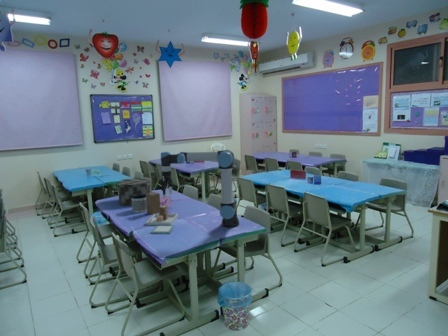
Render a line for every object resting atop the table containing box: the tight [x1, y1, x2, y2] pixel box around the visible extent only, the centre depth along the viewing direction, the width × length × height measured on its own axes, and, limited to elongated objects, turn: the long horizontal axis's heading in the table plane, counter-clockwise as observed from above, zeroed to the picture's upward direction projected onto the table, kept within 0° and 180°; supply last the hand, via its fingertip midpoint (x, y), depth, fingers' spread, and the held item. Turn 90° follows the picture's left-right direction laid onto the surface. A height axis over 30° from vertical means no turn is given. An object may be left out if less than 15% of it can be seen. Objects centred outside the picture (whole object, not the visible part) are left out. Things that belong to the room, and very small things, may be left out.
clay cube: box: [157, 216, 164, 222], centre depth 286 cm, size 5×5×6 cm
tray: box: [145, 213, 179, 226], centre depth 293 cm, size 22×24×4 cm
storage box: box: [116, 177, 153, 207], centre depth 365 cm, size 35×35×23 cm
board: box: [150, 225, 176, 235], centre depth 271 cm, size 16×16×1 cm
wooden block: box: [146, 191, 161, 215], centre depth 318 cm, size 10×10×20 cm
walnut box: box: [158, 205, 169, 220], centre depth 296 cm, size 6×6×12 cm
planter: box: [131, 195, 147, 214], centre depth 329 cm, size 16×16×14 cm
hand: (167, 196), depth 269 cm, fingers open, 13 cm apart
